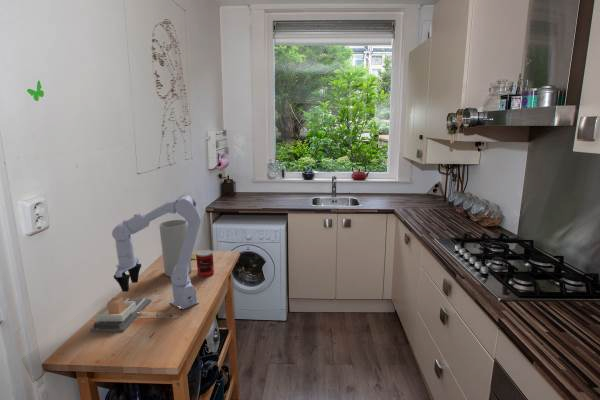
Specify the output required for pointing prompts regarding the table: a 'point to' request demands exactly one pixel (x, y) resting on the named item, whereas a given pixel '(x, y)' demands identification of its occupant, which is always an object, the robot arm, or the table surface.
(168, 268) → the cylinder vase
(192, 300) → the robot arm
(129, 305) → the white shallow tray
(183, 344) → the table surface
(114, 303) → the block
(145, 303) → the track
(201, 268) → the canned food
